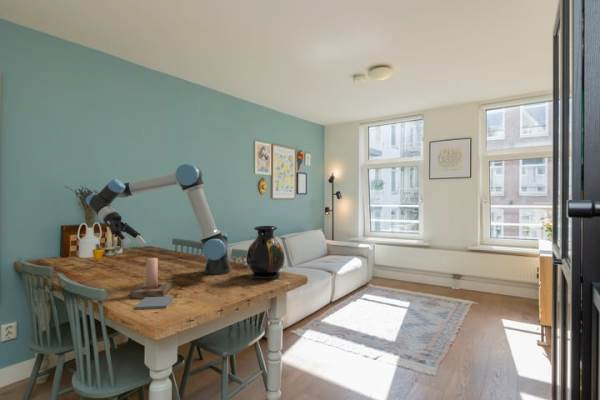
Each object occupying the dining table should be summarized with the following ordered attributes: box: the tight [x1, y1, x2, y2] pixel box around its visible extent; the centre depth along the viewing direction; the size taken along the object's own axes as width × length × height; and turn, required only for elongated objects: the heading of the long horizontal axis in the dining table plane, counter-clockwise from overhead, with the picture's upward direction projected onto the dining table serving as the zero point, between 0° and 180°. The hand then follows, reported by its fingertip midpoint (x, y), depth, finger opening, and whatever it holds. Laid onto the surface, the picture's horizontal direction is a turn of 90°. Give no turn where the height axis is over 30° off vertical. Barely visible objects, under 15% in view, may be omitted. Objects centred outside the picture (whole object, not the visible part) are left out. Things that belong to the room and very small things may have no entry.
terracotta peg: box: [145, 257, 159, 289], centre depth 147 cm, size 5×5×16 cm
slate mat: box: [134, 295, 175, 310], centre depth 133 cm, size 12×12×1 cm
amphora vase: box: [245, 225, 286, 281], centre depth 177 cm, size 22×22×28 cm
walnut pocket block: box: [129, 281, 173, 299], centre depth 147 cm, size 14×14×3 cm
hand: (137, 244), depth 159 cm, fingers open, 13 cm apart
